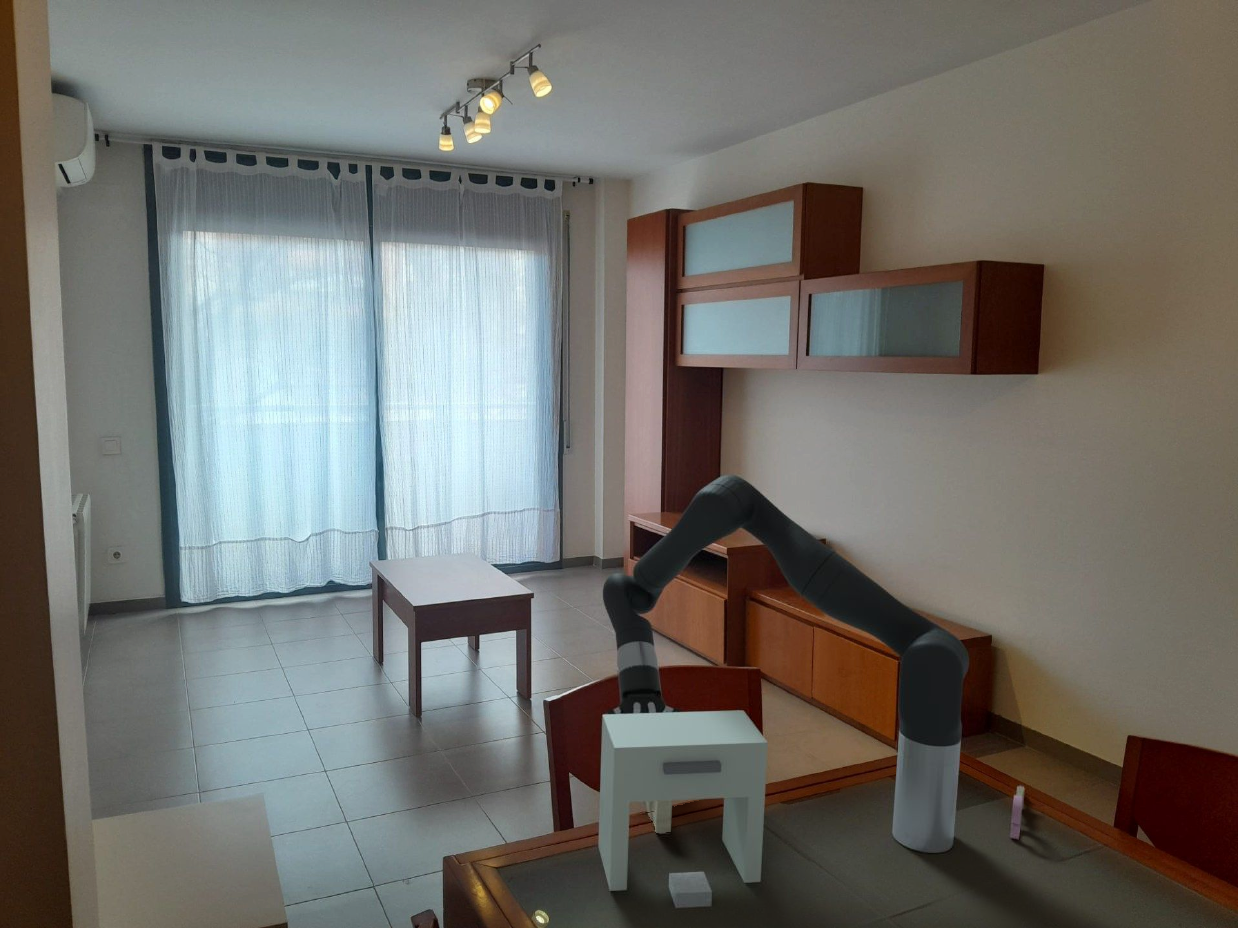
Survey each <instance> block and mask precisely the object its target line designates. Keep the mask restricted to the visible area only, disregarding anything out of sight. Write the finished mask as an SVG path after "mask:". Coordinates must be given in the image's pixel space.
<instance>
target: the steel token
mask: <svg viewBox="0 0 1238 928" xmlns="http://www.w3.org/2000/svg"><path fill="white" fill-rule="evenodd" d="M668 874H669V875H668V889H669V893H670V895H671V899H672V901H673V904H674V906H675V909H679V908H681V909H682V908H683V909H684V908H697V907H698V908H699V907H702V908H703V907H712V899H713V891H712V888H711V886H710V883H709V880H708V879H707V877H706V874H705V872H704V871H691V872H690V871H689V872H687V871H686V872H669V873H668Z"/></svg>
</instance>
